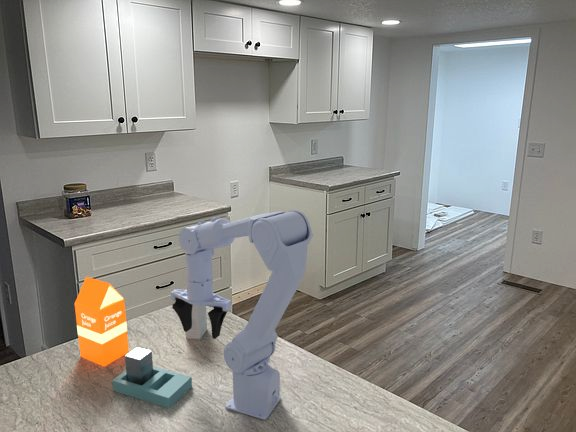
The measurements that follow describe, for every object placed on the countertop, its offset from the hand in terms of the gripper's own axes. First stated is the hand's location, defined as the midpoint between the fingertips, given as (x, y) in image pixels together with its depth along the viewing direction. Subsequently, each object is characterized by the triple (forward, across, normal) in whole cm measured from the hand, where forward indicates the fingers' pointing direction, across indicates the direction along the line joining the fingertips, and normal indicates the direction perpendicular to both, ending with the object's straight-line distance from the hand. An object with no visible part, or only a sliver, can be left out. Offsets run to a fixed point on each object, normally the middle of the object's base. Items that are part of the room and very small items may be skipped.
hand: (201, 333), depth 107 cm
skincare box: (+11, +12, -15) cm, 22 cm away
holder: (+10, +7, +10) cm, 16 cm away
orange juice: (+11, +27, +3) cm, 29 cm away
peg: (+10, +10, +10) cm, 17 cm away
